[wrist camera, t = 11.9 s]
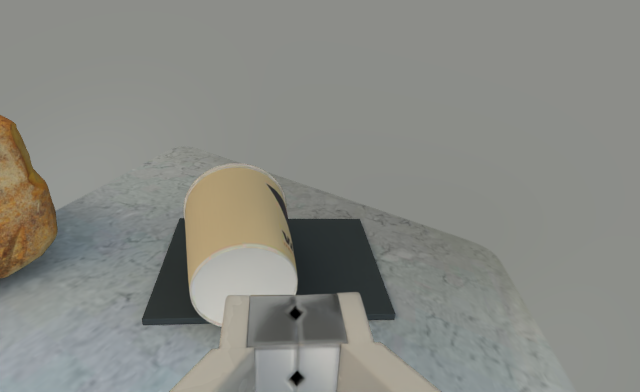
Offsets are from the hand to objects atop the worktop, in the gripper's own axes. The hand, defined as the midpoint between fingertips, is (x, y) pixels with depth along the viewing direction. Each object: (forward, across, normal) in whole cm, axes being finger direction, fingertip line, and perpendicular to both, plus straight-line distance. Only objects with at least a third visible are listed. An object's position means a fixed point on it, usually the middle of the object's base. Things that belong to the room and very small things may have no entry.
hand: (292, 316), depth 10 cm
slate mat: (+28, 0, +18) cm, 33 cm away
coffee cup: (+18, +2, +13) cm, 22 cm away
